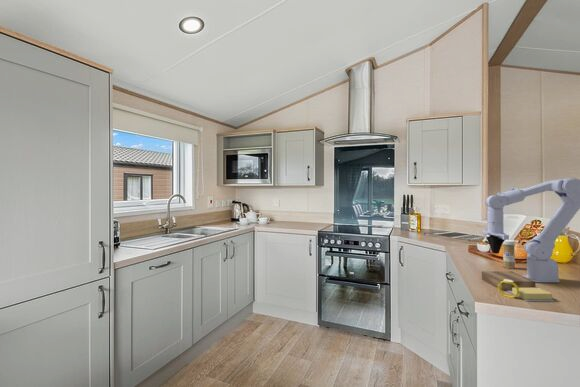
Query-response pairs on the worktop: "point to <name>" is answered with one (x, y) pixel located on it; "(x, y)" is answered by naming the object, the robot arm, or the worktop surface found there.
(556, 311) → the worktop surface
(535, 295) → the yellow butter block
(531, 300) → the mat
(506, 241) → the sprinkles bottle
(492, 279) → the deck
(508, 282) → the watch
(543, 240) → the robot arm
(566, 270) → the worktop surface
